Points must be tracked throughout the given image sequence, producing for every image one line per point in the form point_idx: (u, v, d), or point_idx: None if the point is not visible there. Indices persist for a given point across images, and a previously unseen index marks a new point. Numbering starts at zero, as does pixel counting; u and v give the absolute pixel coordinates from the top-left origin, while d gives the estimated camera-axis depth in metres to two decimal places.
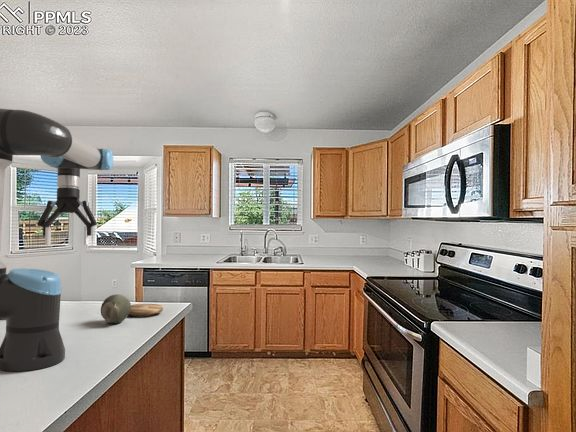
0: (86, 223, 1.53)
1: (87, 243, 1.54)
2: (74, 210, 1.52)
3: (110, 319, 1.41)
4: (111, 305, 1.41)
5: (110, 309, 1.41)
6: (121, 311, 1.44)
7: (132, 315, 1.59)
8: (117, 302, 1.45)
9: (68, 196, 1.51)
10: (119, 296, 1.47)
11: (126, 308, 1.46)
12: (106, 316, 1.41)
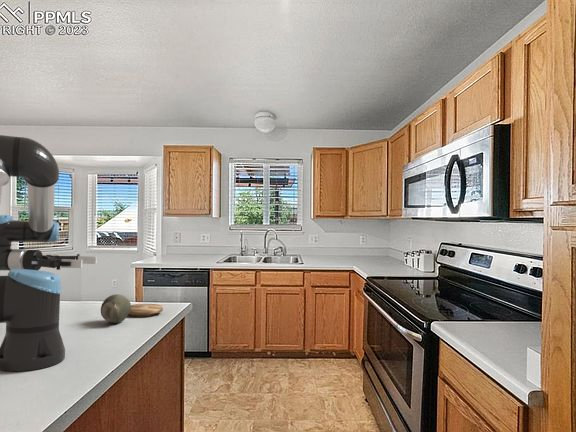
0: (75, 256, 1.53)
1: None
2: (56, 255, 1.48)
3: (110, 319, 1.41)
4: (111, 305, 1.41)
5: (110, 309, 1.41)
6: (121, 311, 1.44)
7: (132, 315, 1.59)
8: (117, 302, 1.45)
9: (39, 250, 1.46)
10: (119, 296, 1.47)
11: (126, 308, 1.46)
12: (106, 316, 1.41)
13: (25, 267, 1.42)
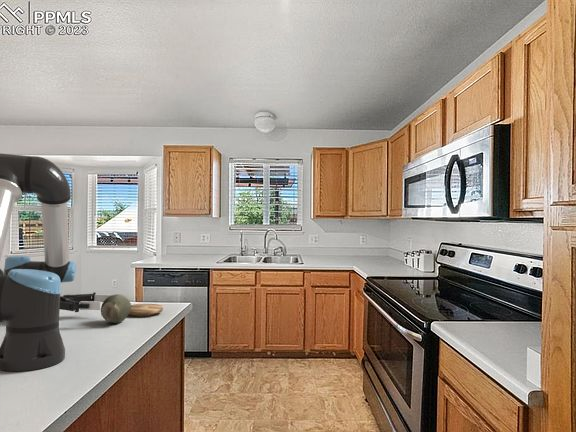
0: (91, 294, 1.54)
1: None
2: (73, 295, 1.49)
3: (110, 319, 1.41)
4: (111, 305, 1.41)
5: (110, 309, 1.41)
6: (121, 311, 1.44)
7: (132, 315, 1.59)
8: (118, 302, 1.45)
9: None
10: (119, 296, 1.47)
11: (126, 308, 1.46)
12: (106, 316, 1.41)
13: None
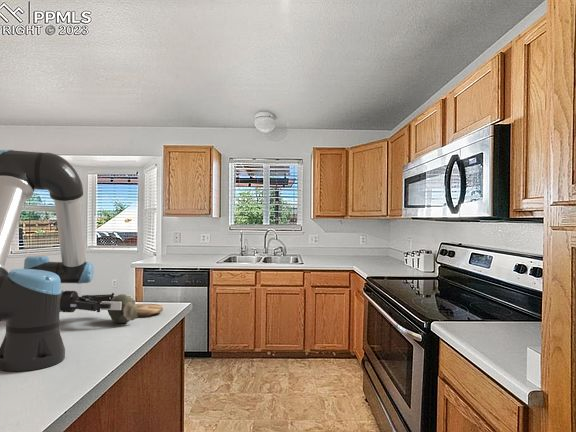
0: (109, 295, 1.53)
1: None
2: (91, 295, 1.49)
3: (130, 318, 1.44)
4: (131, 304, 1.44)
5: (130, 308, 1.44)
6: None
7: None
8: (130, 301, 1.47)
9: (75, 291, 1.47)
10: (126, 295, 1.48)
11: None
12: (127, 315, 1.43)
13: (62, 309, 1.42)
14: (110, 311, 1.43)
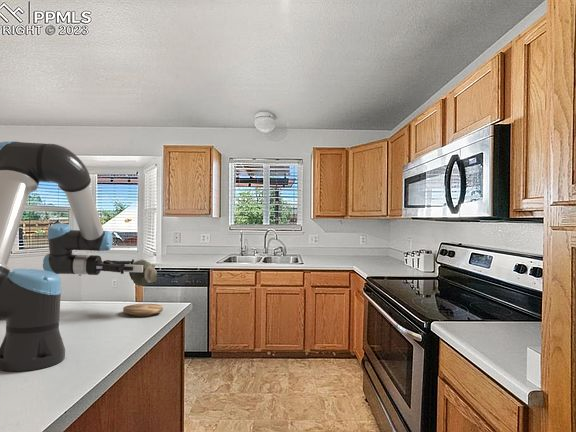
0: (130, 261, 1.66)
1: None
2: None
3: (150, 280, 1.57)
4: (151, 268, 1.57)
5: (151, 271, 1.57)
6: None
7: (132, 315, 1.59)
8: (150, 265, 1.60)
9: (99, 256, 1.60)
10: (146, 261, 1.61)
11: None
12: (147, 278, 1.56)
13: (88, 271, 1.55)
14: (132, 274, 1.56)
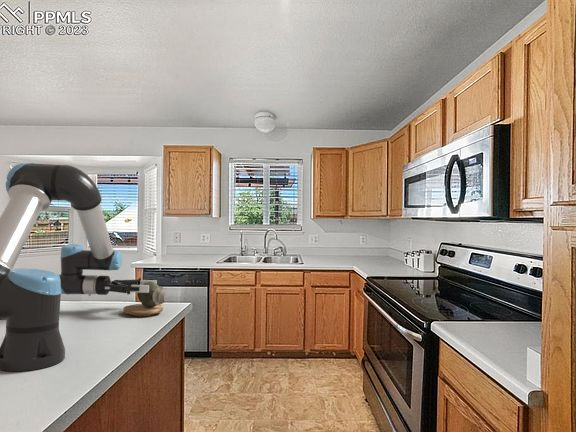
0: (137, 280, 1.70)
1: None
2: (122, 280, 1.66)
3: (158, 302, 1.61)
4: (159, 290, 1.61)
5: (158, 294, 1.61)
6: None
7: (132, 315, 1.59)
8: (158, 287, 1.64)
9: (108, 276, 1.64)
10: None
11: None
12: (155, 300, 1.60)
13: (97, 291, 1.59)
14: (140, 296, 1.60)
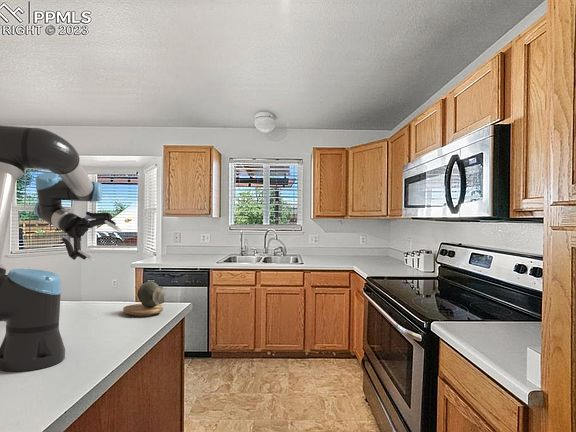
0: (103, 218, 1.51)
1: (119, 228, 1.49)
2: (85, 222, 1.50)
3: (158, 302, 1.61)
4: (159, 290, 1.61)
5: (158, 293, 1.61)
6: None
7: (132, 315, 1.59)
8: (158, 287, 1.64)
9: (71, 218, 1.50)
10: None
11: None
12: (155, 300, 1.60)
13: None
14: (140, 296, 1.60)
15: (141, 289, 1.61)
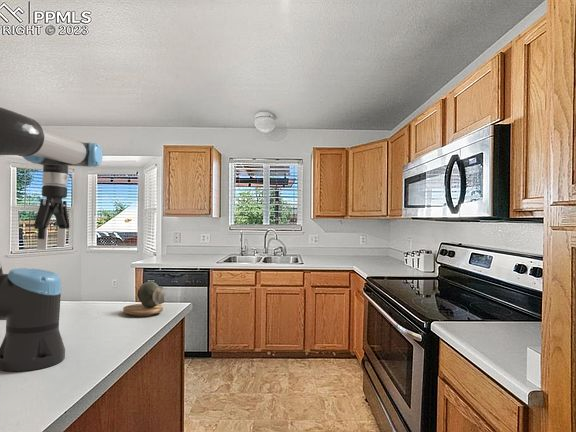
0: None
1: (42, 248, 1.33)
2: None
3: (158, 302, 1.61)
4: (159, 290, 1.61)
5: (158, 293, 1.61)
6: None
7: (132, 315, 1.59)
8: (158, 287, 1.64)
9: (42, 195, 1.38)
10: None
11: None
12: (155, 300, 1.60)
13: None
14: (140, 296, 1.60)
15: (141, 289, 1.61)
